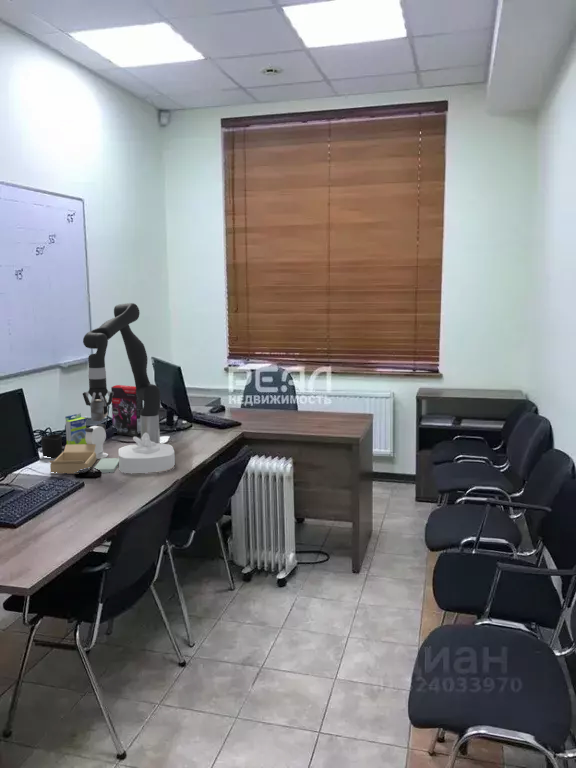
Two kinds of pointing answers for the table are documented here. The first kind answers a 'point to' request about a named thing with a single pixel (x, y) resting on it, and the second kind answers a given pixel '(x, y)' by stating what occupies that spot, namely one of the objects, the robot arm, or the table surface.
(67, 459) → the carton
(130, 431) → the graphics card box
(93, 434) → the white security camera
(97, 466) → the board
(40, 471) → the table surface
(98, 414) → the block
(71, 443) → the box
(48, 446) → the pen holder
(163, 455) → the tissue box
